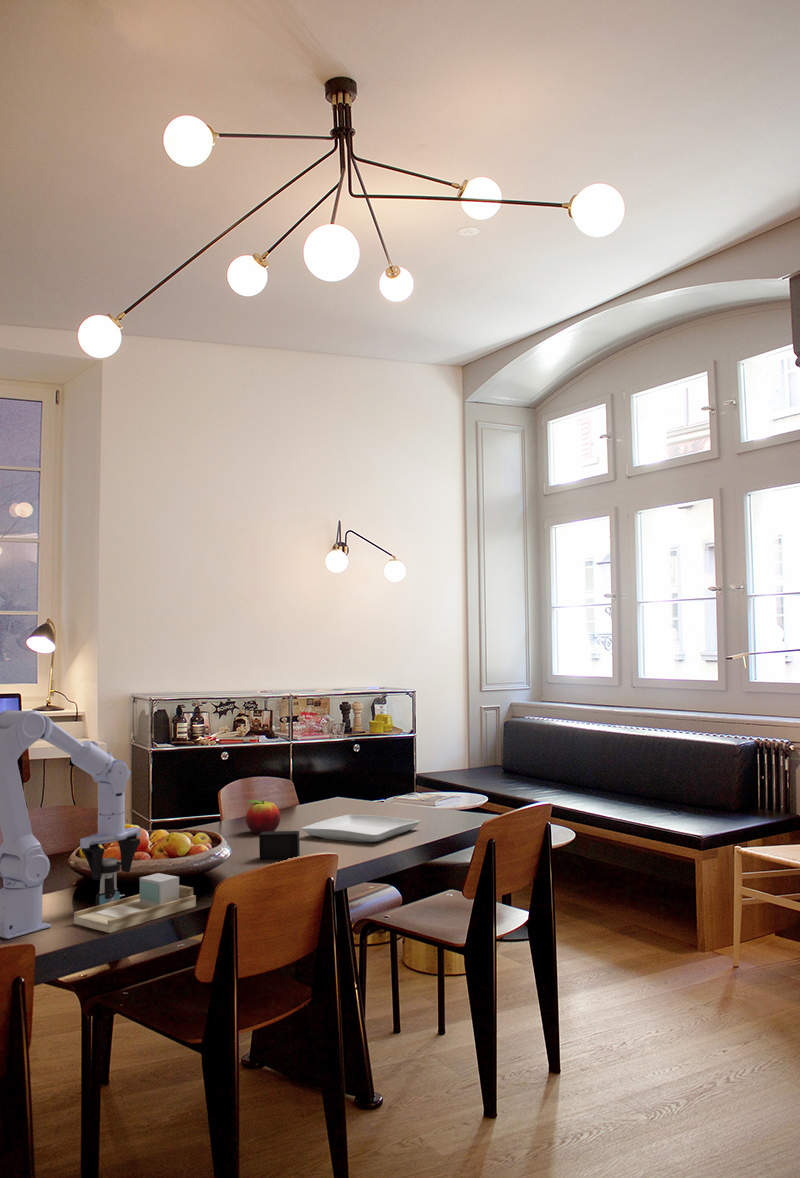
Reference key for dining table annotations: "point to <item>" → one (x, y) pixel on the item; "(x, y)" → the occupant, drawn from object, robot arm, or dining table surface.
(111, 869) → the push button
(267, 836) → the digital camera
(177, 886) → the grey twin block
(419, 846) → the dining table surface
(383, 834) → the square plate
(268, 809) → the fruit
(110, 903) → the beige tray
